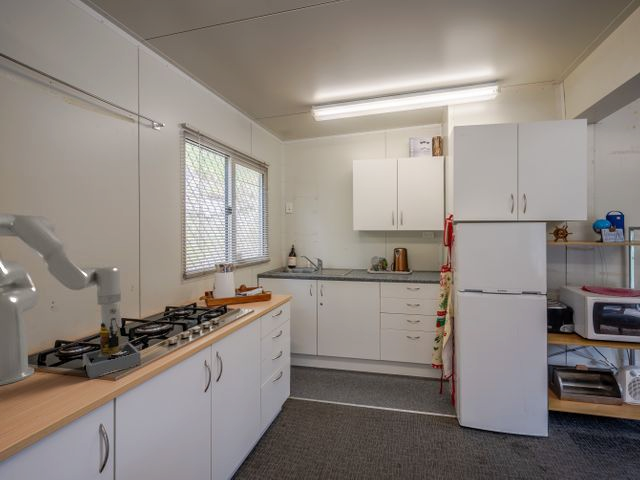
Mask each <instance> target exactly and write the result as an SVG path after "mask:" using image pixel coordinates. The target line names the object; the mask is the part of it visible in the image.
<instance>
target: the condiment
mask: <svg viewBox="0 0 640 480" xmlns="http://www.w3.org/2000/svg"><path fill="white" fill-rule="evenodd" d="M110 329H112V328H110ZM117 331H118V340H119V341H120V332H119V331H120V328H119V327H117ZM111 332H112V331H111ZM99 338H100V339H99V340H100V341H99V344H100V350H101V353H100V354H99V356H98V357H103V356H110V355H115V354H120V353H121V351H122V349H123V348H124V346H122V347H120V346H117V347H113V348H109V346H108V338H109V333H108V330H106V328H105V325H104V324H103V323H102V322H101V324H100V330H99Z"/></svg>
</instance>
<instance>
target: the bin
mask: <svg viewBox="0 0 640 480" xmlns="http://www.w3.org/2000/svg"><path fill="white" fill-rule="evenodd" d="M119 346H120V347H122V346H124V348H123V349H122V351H121V352H124V351H129V355H126V356H122V357H118V358H115V359H111V360H107V359H108V358H109V356H103V357H98V356H99V354H100V353H101V349H99V350H95V351H90V352H87V353H83V354H82V367H83V368H84V366H85V365H86V371H87V372H88V374H87V377H88V378H89V380H94V379H97V378H100V377H99V376H100V375H102V374H104V373H107V372H111V371H114V370H118V369H122V368H127V367H131V366H134V365H139V364H141V365H142V363H141V359H142V358H141V352H140V350H138V349H137V348H136V347H135V346H134V345H133V344H131V342H129V343H124V344H121V345H120V344H119ZM110 356H111V355H110ZM88 358H94V360H93V363H91V362H90V360H89V359H88ZM139 366H140V365H139ZM86 371H85V372H86Z"/></svg>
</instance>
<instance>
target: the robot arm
mask: <svg viewBox="0 0 640 480" xmlns="http://www.w3.org/2000/svg"><path fill="white" fill-rule="evenodd" d="M55 229H56V228H55V225H54V223H53V221H52V220H51V219H50V218H48V217H46V216H45V217H44V216H41V215H23V214H12V213H2V212H0V237H17V238H18V239H20V240H21V241H22V242H24V244H26V245H27V246H28V247H29V248H31V250H33V251H34V252H35V253H36V254H37V255H38V256H39V257H41V258H42V260H43V263H44V264H45V267H46V269H47V270H48V272H49V273H50V275H51V276H52V277H53V278H54V279H55V280H56V281H58V282H59V283H61V285H63V286H64V287H65V288H66V289H69V290H72V291H81V290H84V289H86V288H90V287H93V286H96V299H97V300H96V301H97V305H98V306H100V314H101V317H100V318H101V324H102V323H103V324H104V325H105V328H106V330H108V333H109V338H108V346H109V348H113V347H117V346H119V345H120V339H119V340H118V331H117V327H118V328H119V329H121V328H122V325H123V324H122V315H121V308H120V303H121V302H122V295H121V292H122V291H121V274H120V269H119V267H117V266H103V267H94V266H90V267H89V266H86V267H81V268H79V267H78V265H76V264H75V263H74V262H72V260H71V259H70V258H69V257H68V255H67V252H66V250H67V249H66V248H67V243H66V242H65V240H63V239H62V238H61V237H59V236H58V235H57V234H56V233H55ZM32 279H33V278H32V277H31V275H30V272H29V270H28V268H26V266H25V265H24V264H22V263H20V262H18V261H15V260H5V258H4V257H3V256H2V253H1V252H0V289H2V290H3V291H0V386H4V385H9V384H12V383H16V382H19V381H22V380H25V379H26V378H28V377H30V376H32V375H33V374H34V373H35V368H34V367H31V366H29V357H28V339H27V338H28V335H27V325H26V321H25V319H24V316H23V315H22V313H24V312H28V311H30V310H32V309H33V308H35V307H36V306H37V304H38V302H39V298H40V297H39V292H38V290H37V287H36V286H35V284H34V283H35V282H34V281H33V280H32ZM110 328H112V329H110ZM111 331H112V332H111Z"/></svg>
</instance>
